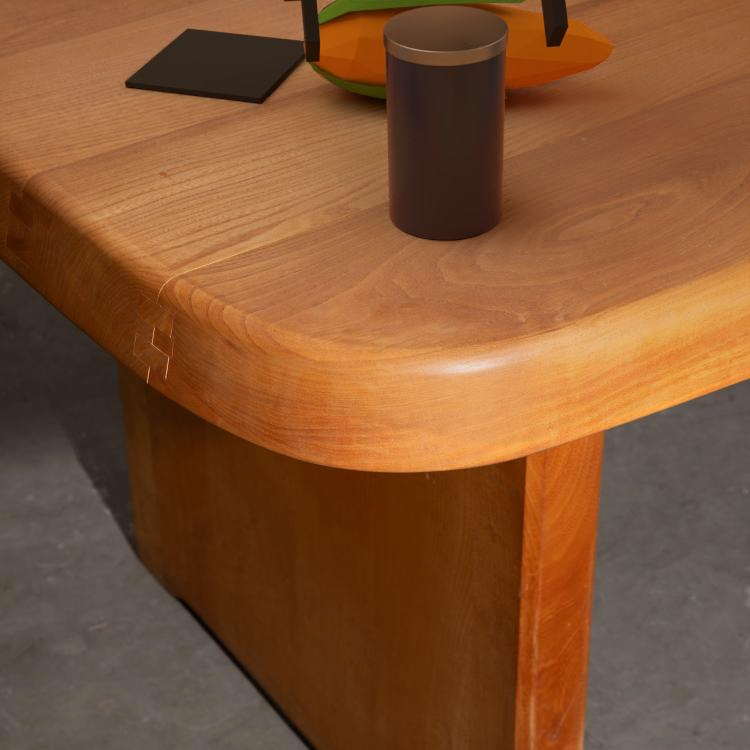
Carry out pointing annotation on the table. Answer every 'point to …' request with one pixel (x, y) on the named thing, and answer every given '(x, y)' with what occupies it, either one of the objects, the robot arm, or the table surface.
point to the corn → (380, 3)
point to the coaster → (220, 65)
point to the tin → (445, 120)
